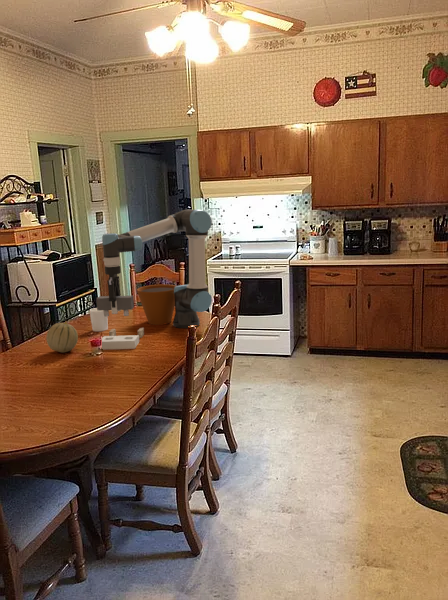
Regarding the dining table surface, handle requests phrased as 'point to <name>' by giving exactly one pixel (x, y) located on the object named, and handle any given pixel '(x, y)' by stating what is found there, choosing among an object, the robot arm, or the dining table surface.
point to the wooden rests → (140, 332)
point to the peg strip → (122, 304)
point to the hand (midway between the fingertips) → (116, 312)
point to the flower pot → (157, 303)
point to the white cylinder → (98, 320)
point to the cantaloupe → (62, 337)
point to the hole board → (120, 342)
